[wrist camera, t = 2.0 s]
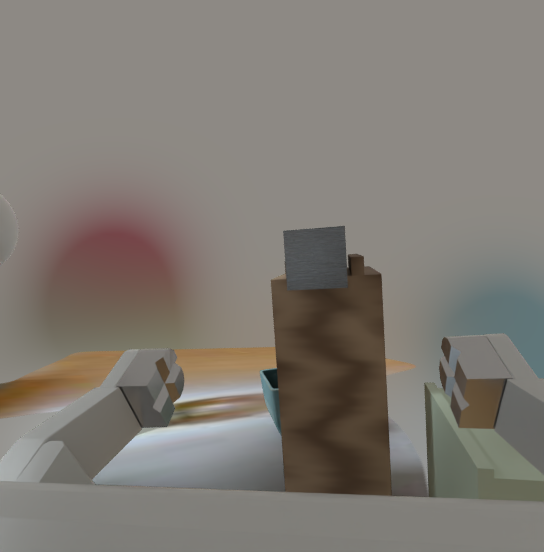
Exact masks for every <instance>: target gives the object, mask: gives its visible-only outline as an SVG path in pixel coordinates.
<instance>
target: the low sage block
mask: <svg viewBox="0 0 544 552" xmlns="http://www.w3.org/2000/svg"><path fill="white" fill-rule="evenodd" d="M424 384H425V410H426V436H427V459H428V487H429V497H438V498H465V499H491V500H518V501H544V475H543V474H542V473H541V472H540V471H539V470H537V469H536V468H535V467H534V466H533V465H532V464H531V463H530V462H529V461H527V460H526V459H525V458H524V457H523V456H522V455H521V454H520V453H519V452H517V451H516V450H515V449H514V448H513V447H512V446H511V445H510V444H509V443H507V442H506V441H505V440H504V439H503V438H502V437H501V436H500V435H499V434H497V433H496V432H495V431H494V430H495V429H476V428H459V427H458V425H457V422H456V420H455V417H454V415H453V412H452V410H451V407H450V405H451V397H449V396H448V395H447V394H445V392H444V389H443V388H437V386H436V385H435V383H424Z"/></svg>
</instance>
